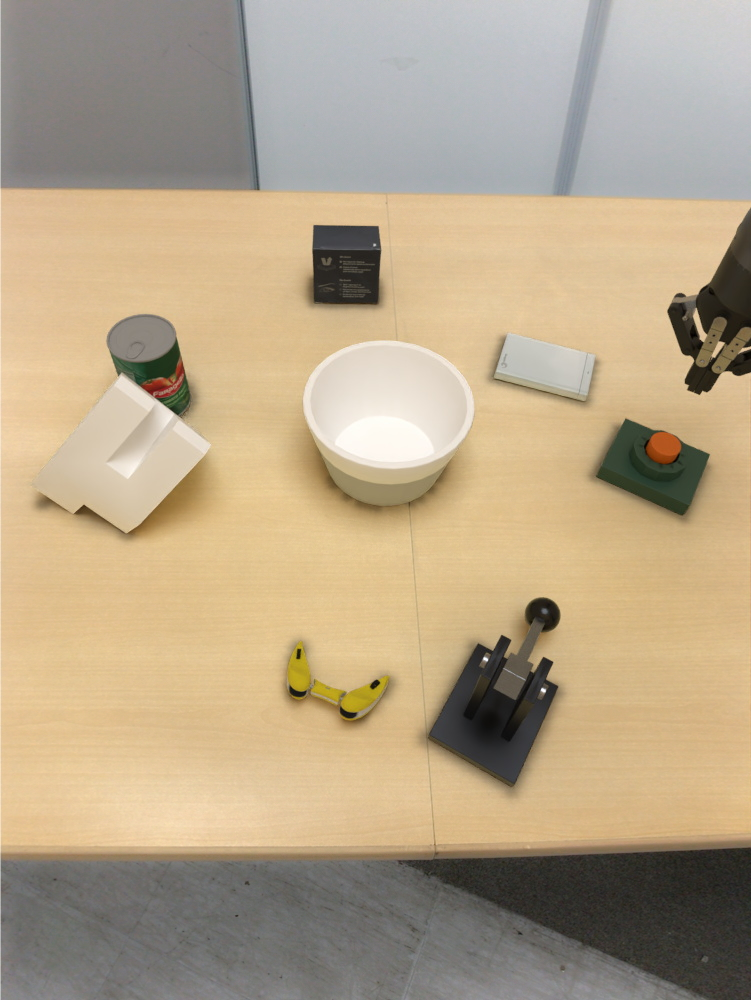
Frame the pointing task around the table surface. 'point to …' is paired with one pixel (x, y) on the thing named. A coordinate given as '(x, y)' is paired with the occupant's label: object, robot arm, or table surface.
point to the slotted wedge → (122, 457)
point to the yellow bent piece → (351, 703)
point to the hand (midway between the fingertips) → (695, 387)
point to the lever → (527, 645)
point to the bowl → (387, 418)
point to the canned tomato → (151, 358)
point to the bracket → (494, 714)
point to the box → (346, 263)
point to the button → (663, 448)
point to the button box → (653, 469)
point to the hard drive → (545, 366)
